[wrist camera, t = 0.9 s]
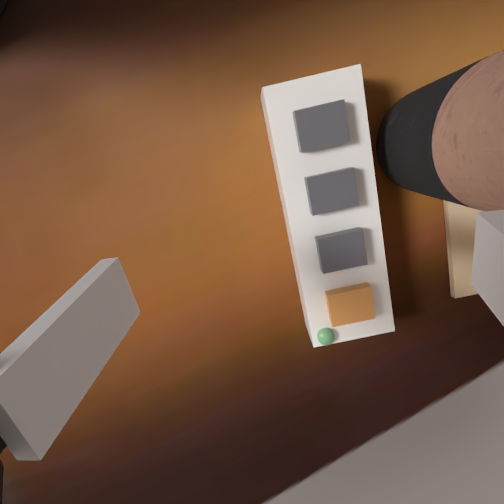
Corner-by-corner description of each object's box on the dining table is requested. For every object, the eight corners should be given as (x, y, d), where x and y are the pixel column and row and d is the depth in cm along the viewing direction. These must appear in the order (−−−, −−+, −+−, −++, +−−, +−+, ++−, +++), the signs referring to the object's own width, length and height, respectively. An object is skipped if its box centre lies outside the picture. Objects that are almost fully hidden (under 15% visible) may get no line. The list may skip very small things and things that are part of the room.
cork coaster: (443, 199, 27) (447, 200, 26) (550, 175, 27) (557, 176, 26) (450, 295, 29) (454, 298, 28) (550, 275, 29) (556, 277, 28)
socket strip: (260, 96, 25) (263, 84, 21) (345, 76, 25) (365, 59, 20) (305, 325, 29) (315, 354, 25) (377, 310, 29) (399, 337, 25)
